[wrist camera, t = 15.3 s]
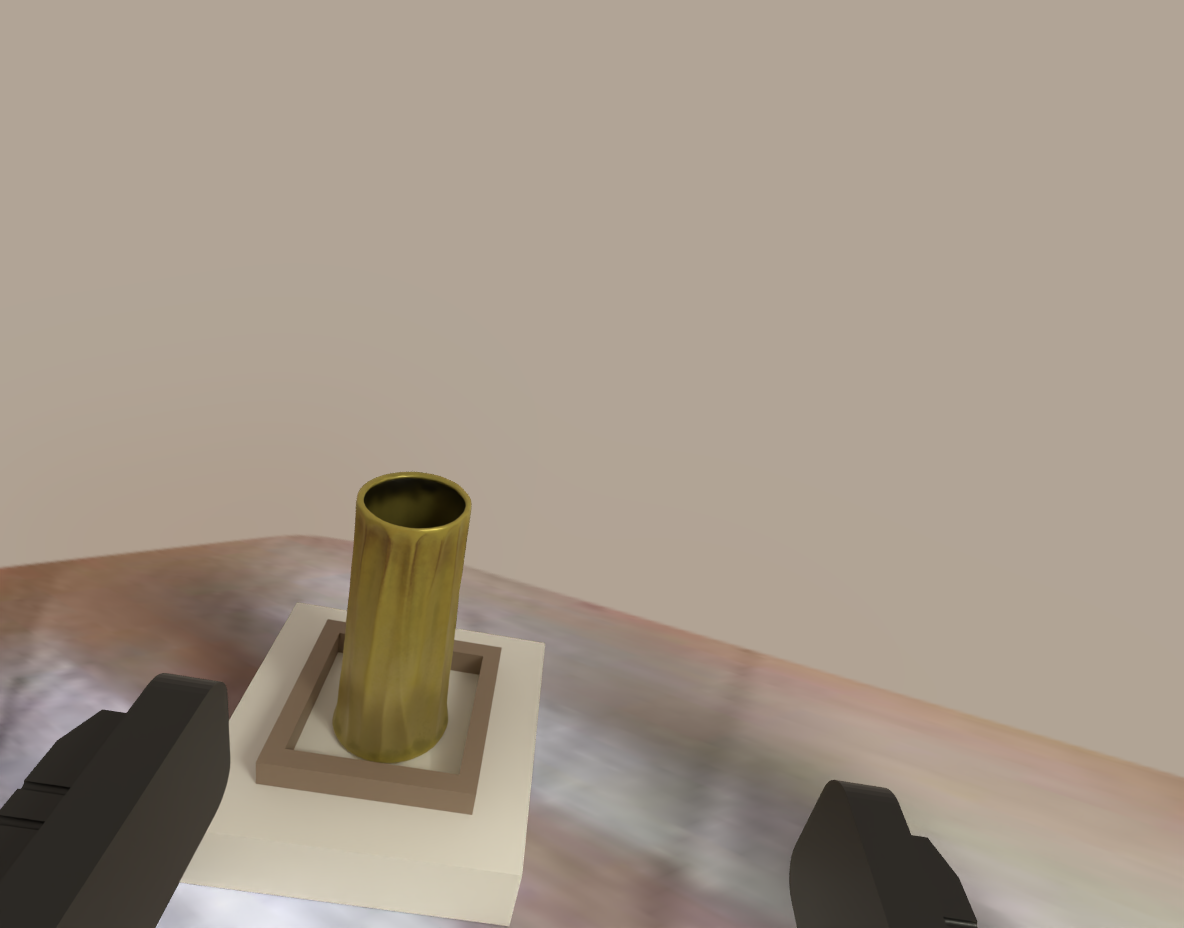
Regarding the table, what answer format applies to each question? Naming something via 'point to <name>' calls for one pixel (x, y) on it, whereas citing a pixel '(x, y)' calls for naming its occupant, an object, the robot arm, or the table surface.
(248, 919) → the table surface
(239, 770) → the display stand
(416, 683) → the vase
